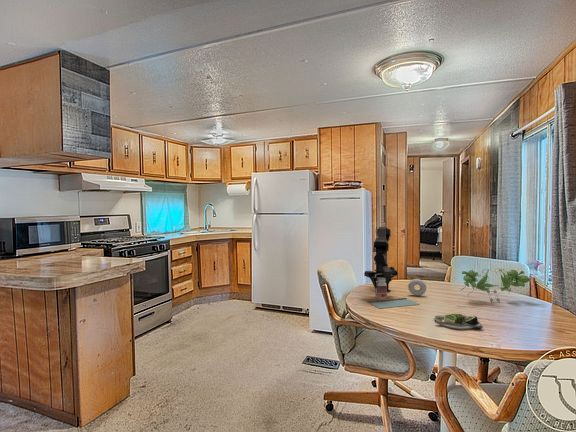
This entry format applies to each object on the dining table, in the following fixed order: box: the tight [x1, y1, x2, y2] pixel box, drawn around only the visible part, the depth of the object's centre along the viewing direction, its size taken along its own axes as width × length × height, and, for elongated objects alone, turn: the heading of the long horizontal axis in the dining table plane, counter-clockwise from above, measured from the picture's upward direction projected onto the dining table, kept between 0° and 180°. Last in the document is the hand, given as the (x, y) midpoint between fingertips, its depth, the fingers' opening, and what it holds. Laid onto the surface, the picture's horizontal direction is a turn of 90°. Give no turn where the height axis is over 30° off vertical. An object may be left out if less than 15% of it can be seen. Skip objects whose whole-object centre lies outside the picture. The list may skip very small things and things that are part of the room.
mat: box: [369, 298, 420, 310], centre depth 176 cm, size 10×24×1 cm, turn 105°
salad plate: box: [433, 313, 484, 331], centre depth 145 cm, size 19×18×5 cm
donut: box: [407, 278, 427, 297], centre depth 192 cm, size 10×4×10 cm, turn 70°
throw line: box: [367, 297, 408, 304], centre depth 183 cm, size 2×24×1 cm, turn 105°
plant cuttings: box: [461, 268, 531, 303], centre depth 180 cm, size 35×17×22 cm
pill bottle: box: [375, 277, 388, 300], centre depth 189 cm, size 6×6×11 cm
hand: (381, 288), depth 189 cm, fingers open, 7 cm apart
